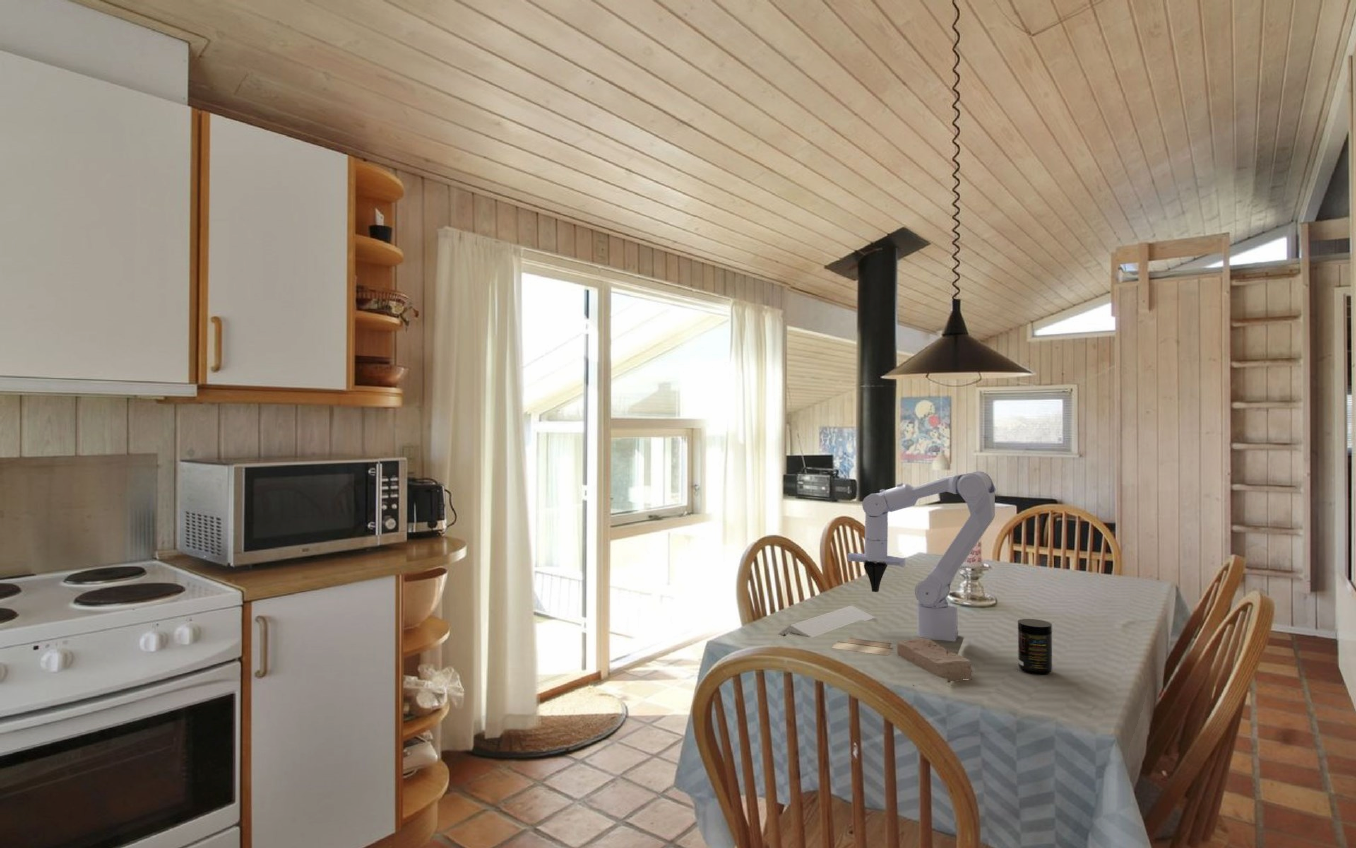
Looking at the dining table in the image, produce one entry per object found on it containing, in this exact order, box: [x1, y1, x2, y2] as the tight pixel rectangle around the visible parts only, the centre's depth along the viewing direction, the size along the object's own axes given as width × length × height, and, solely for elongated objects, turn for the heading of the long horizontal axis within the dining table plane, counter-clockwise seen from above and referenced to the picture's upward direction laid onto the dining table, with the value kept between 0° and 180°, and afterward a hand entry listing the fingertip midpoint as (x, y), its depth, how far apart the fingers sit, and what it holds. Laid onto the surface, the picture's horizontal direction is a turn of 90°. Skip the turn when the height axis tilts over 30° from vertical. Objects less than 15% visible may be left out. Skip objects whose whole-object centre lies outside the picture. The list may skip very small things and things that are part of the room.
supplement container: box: [1017, 618, 1053, 676], centre depth 157 cm, size 7×7×10 cm
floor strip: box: [831, 640, 894, 656], centre depth 170 cm, size 13×6×1 cm, turn 63°
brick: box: [896, 637, 973, 682], centre depth 159 cm, size 17×8×5 cm, turn 16°
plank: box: [846, 637, 892, 647], centre depth 176 cm, size 10×7×1 cm
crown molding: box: [778, 605, 878, 638], centre depth 192 cm, size 29×12×4 cm, turn 135°
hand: (875, 591), depth 189 cm, fingers closed
